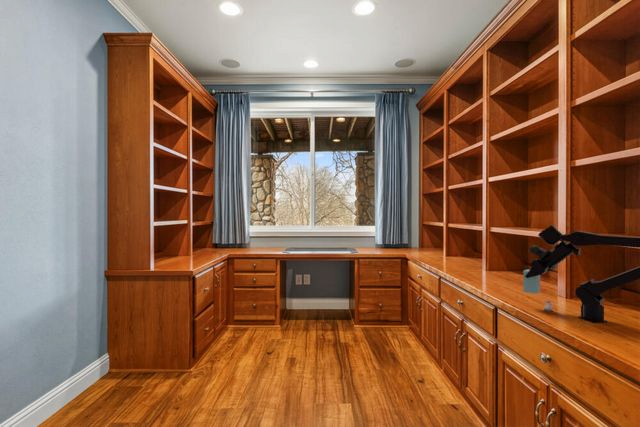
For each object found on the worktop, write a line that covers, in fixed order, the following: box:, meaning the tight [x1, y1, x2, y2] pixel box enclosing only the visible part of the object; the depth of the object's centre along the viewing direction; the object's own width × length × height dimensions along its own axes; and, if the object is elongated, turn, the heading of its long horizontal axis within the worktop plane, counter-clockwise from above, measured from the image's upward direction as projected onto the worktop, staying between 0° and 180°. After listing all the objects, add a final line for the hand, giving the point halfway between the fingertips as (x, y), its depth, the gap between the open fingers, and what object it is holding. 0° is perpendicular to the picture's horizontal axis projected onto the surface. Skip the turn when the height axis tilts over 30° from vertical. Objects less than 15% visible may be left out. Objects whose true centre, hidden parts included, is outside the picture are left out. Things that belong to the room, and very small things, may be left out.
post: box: [543, 300, 553, 313], centre depth 137 cm, size 3×3×4 cm
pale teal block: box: [522, 269, 541, 295], centre depth 141 cm, size 5×5×9 cm
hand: (528, 276), depth 143 cm, fingers closed on pale teal block, 5 cm apart
